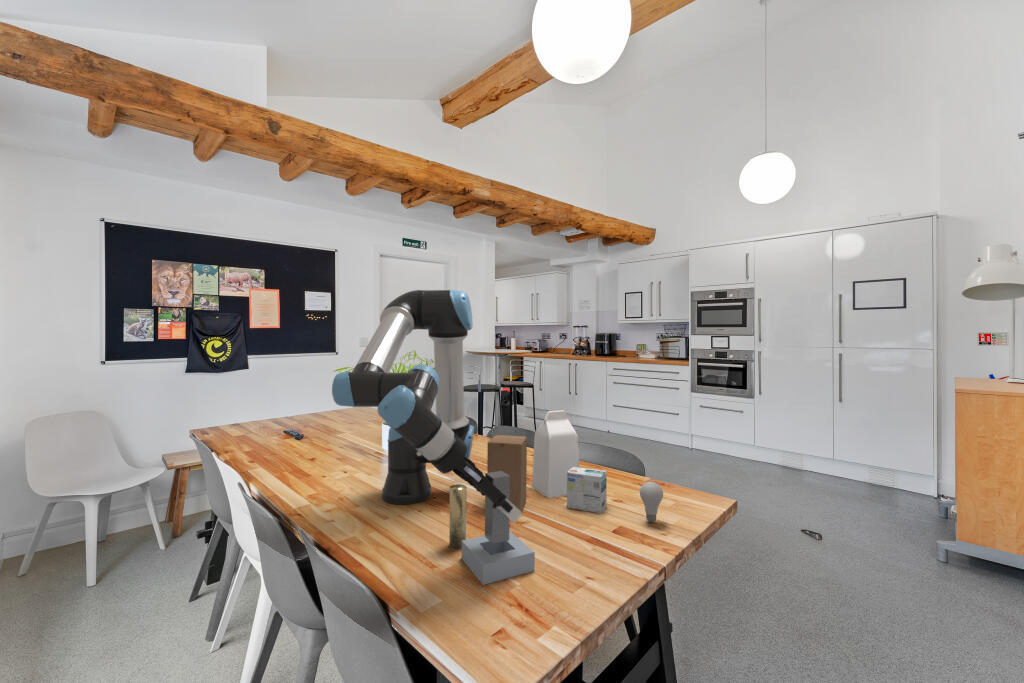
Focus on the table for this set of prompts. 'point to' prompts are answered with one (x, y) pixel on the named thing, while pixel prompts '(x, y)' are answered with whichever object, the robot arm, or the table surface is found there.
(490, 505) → the square bit
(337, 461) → the table surface
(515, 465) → the wooden block
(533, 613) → the table surface
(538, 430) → the milk
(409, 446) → the robot arm
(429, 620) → the table surface
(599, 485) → the light bulb box
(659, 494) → the lightbulb
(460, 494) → the cylinder
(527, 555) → the jig
